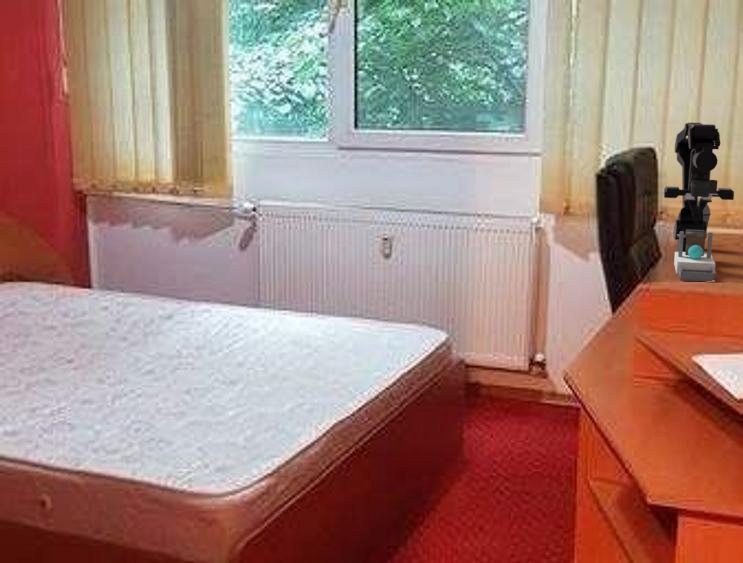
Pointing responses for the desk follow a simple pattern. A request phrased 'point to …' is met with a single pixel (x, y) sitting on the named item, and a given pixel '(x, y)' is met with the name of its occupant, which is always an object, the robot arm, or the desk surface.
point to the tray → (697, 275)
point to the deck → (694, 264)
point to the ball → (695, 251)
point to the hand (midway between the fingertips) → (696, 223)
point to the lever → (695, 239)
